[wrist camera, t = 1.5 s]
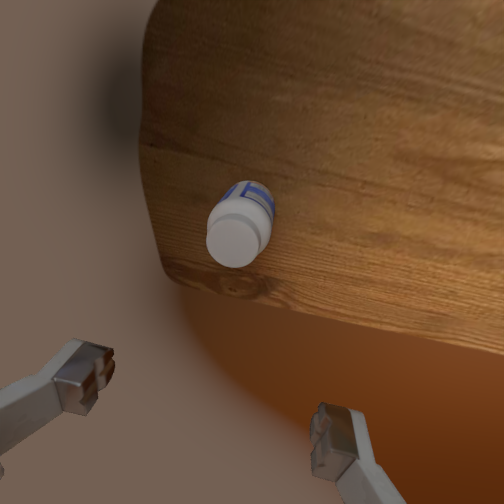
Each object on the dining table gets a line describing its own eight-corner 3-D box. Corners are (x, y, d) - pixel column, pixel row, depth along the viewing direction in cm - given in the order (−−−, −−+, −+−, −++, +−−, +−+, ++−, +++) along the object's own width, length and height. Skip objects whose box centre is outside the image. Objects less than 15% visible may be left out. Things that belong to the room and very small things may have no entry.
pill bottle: (232, 231, 30) (207, 280, 21) (219, 184, 27) (185, 217, 19) (280, 224, 28) (274, 273, 20) (270, 174, 26) (260, 204, 18)
